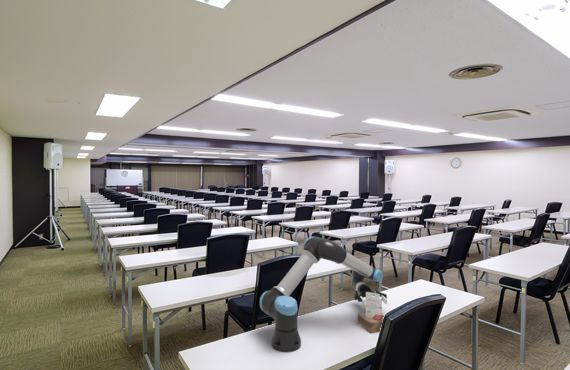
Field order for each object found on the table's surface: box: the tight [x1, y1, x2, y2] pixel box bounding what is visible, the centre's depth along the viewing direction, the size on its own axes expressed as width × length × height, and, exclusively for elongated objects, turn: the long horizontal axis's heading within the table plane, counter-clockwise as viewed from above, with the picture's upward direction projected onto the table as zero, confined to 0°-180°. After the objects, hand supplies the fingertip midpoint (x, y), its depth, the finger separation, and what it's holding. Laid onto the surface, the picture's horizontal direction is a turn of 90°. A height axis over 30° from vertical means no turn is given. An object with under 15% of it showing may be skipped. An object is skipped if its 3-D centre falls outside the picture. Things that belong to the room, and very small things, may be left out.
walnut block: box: [357, 312, 384, 334], centre depth 186 cm, size 13×13×6 cm
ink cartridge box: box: [364, 292, 383, 320], centre depth 186 cm, size 9×5×15 cm, turn 61°
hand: (375, 302), depth 182 cm, fingers open, 12 cm apart
